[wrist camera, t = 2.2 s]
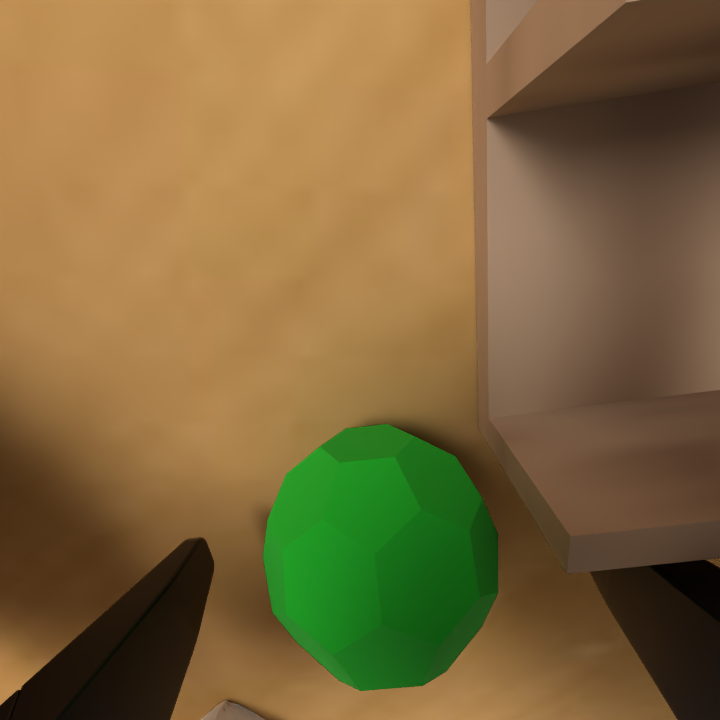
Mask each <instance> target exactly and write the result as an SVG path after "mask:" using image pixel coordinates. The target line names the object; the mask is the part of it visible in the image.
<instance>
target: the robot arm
mask: <svg viewBox="0 0 720 720" xmlns="http://www.w3.org/2000/svg"><path fill="white" fill-rule="evenodd" d="M213 572H214V560H213V557H212V555H211V552H210V549H209V547H208V544H207V542H206V540H205V539H204V538H202V537H198V538H189V539H187V540H185V541H184V542H182V543H181V544H180V545H179V546H178V547H177V548H176V549H175V550H174V551H172V552H171V553H170V554H169V555H168V556H167V557H166V558H165V559H163V560H162V561H161V562H160V563H159V564H158V565H157V566H156V567H155V568H153V569H152V570H151V571H150V572H149V573H148V574H147V575H146V576H144V577H143V578H142V579H141V580H140V581H139V582H138V583H137V584H136V585H134V586H133V587H132V588H131V589H130V590H129V591H128V592H127V593H126V594H124V595H123V596H122V597H121V598H120V599H119V600H118V601H117V602H115V603H114V604H113V605H112V606H111V607H110V608H109V609H108V610H107V611H105V612H104V613H103V614H102V615H101V616H100V617H99V618H98V619H96V620H95V621H94V622H93V623H92V624H91V625H90V626H89V627H88V628H86V629H85V630H84V631H83V632H82V633H81V634H80V635H79V636H78V637H76V638H75V639H74V640H73V641H72V642H71V643H70V644H69V645H67V646H66V647H65V648H64V649H63V650H62V651H61V652H60V653H59V654H57V655H56V656H55V657H54V658H53V659H52V660H51V661H50V662H48V663H47V664H46V665H45V666H44V667H43V668H42V669H41V670H40V671H38V672H37V673H36V674H35V675H34V676H33V677H32V678H31V679H29V680H28V681H27V682H26V683H25V684H24V685H23V686H22V688H21V690H17V691H16V692H15V693H14V694H13V695H11V696H10V697H9V698H8V699H7V700H6V701H5V702H4V703H3V704H1V705H0V720H170V719H171V716H172V713H173V710H174V707H175V704H176V701H177V698H178V695H179V692H180V689H181V686H182V683H183V680H184V677H185V674H186V671H187V668H188V665H189V663H190V660H191V657H192V654H193V651H194V647H195V644H196V641H197V637H198V634H199V630H200V626H201V622H202V618H203V613H204V609H205V605H206V601H207V597H208V593H209V589H210V585H211V581H212V576H213ZM590 573H591V575H592V577H593V579H594V581H595V583H596V585H597V587H598V589H599V591H600V593H601V595H602V597H603V599H604V600H605V602H606V604H607V606H608V607H609V609H610V611H611V612H612V614H613V616H614V617H615V619H616V621H617V622H618V624H619V626H620V627H621V629H622V630H623V632H624V634H625V635H626V637H627V639H628V640H629V642H630V643H631V645H632V647H633V648H634V650H635V651H636V653H637V655H638V656H639V658H640V660H641V661H642V663H643V664H644V666H645V668H646V669H647V671H648V673H649V674H650V676H651V677H652V679H653V681H654V682H655V684H656V686H657V687H658V689H659V690H660V692H661V694H662V695H663V697H664V698H665V700H666V702H667V703H668V705H669V707H670V708H671V710H672V711H673V713H674V715H675V716H676V718H677V720H720V568H719V567H718V566H716V565H714V564H712V563H710V562H709V561H707V560H697V561H687V562H677V563H668V564H658V565H649V566H639V567H629V568H620V569H610V570H601V571H591V572H590Z"/></svg>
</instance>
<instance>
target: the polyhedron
mask: <svg viewBox="0 0 720 720" xmlns="http://www.w3.org/2000/svg"><path fill="white" fill-rule="evenodd" d="M263 562H264V567H265V573H266V579H267V584H268V590H269V596H270V601H271V607H272V613H273V614H274V615H275V616H276V618H277V619H278V620H279V621H280V623H281V624H282V625H283V626H284V627H285V629H286V630H287V631H288V632H289V634H290V635H291V636H292V637H293V638H294V640H295V641H296V642H297V643H298V644H299V645H300V646H301V647H302V648H303V649H305V650H306V651H307V652H308V653H309V654H310V655H311V656H312V657H313V658H315V659H316V660H317V661H318V662H319V663H320V664H321V665H322V666H324V667H325V668H326V669H327V670H328V671H329V672H330V673H331V674H332V675H334V676H335V677H336V678H337V679H338V680H339V681H341V682H343V683H345V684H348V685H350V686H352V687H354V688H356V689H358V690H360V691H365V690H377V689H389V688H402V687H414V686H423V685H425V684H426V683H428V682H430V681H431V680H433V679H435V678H436V677H438V676H439V675H441V674H443V673H444V672H446V671H447V670H448V668H449V667H450V666H451V665H452V663H453V662H454V661H455V660H456V658H457V657H458V656H459V655H460V653H461V652H462V651H463V650H464V648H465V647H466V646H467V645H468V643H469V642H470V641H471V640H472V638H473V637H474V636H475V635H476V633H477V632H478V631H479V629H480V628H481V627H482V625H483V623H484V621H485V619H486V617H487V615H488V613H489V611H490V608H491V606H492V604H493V602H494V600H495V598H496V596H497V594H498V533H497V531H496V528H495V526H494V524H493V521H492V519H491V517H490V514H489V512H488V510H487V507H486V505H485V503H484V500H483V498H482V497H481V495H480V493H479V492H478V490H477V489H476V487H475V486H474V484H473V483H472V481H471V480H470V478H469V476H468V475H467V473H466V472H465V470H464V469H463V467H462V466H461V464H460V463H459V461H458V459H457V458H456V456H454V455H452V454H450V453H448V452H446V451H444V450H442V449H440V448H437V447H435V446H433V445H431V444H429V443H427V442H425V441H423V440H421V439H419V438H417V437H415V436H413V435H411V434H408V433H406V432H404V431H402V430H400V429H397V428H395V427H393V426H391V425H389V424H382V425H373V426H364V427H355V428H346V429H345V430H343V431H342V432H340V433H339V434H337V435H336V436H334V437H333V438H332V439H330V440H329V441H327V442H326V443H324V444H323V445H321V446H320V447H319V448H317V449H316V450H315V451H314V452H313V453H311V454H310V455H309V456H308V457H307V458H305V459H304V460H303V461H302V462H300V463H299V464H298V465H297V466H296V467H294V468H293V469H292V470H291V471H290V472H288V473H287V474H286V476H285V479H284V481H283V483H282V486H281V488H280V491H279V493H278V496H277V498H276V501H275V503H274V505H273V508H272V510H271V513H270V515H269V518H268V521H267V528H266V536H265V544H264V551H263Z"/></svg>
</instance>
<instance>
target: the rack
mask: <svg viewBox="0 0 720 720" xmlns="http://www.w3.org/2000/svg"><path fill="white" fill-rule="evenodd" d="M471 48H472V102H473V156H474V210H475V264H476V319H477V373H478V427H479V430H480V432H481V433H482V435H483V437H484V438H485V440H486V442H487V443H488V445H489V447H490V448H491V450H492V452H493V453H494V455H495V457H496V458H497V460H498V462H499V463H500V465H501V466H502V468H503V470H504V471H505V473H506V475H507V476H508V478H509V480H510V481H511V483H512V485H513V486H514V488H515V490H516V491H517V493H518V495H519V496H520V498H521V499H522V501H523V503H524V504H525V506H526V508H527V509H528V511H529V513H530V514H531V516H532V518H533V519H534V521H535V523H536V524H537V526H538V528H539V529H540V531H541V532H542V534H543V536H544V537H545V539H546V541H547V542H548V544H549V546H550V547H551V549H552V551H553V552H554V554H555V556H556V557H557V559H558V561H559V562H560V564H561V565H562V567H563V569H564V570H565V572H566V574H572V573H582V572H591V571H601V570H610V569H620V568H629V567H639V566H649V565H658V564H668V563H677V562H687V561H697V560H706V559H716V558H720V0H471Z"/></svg>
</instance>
